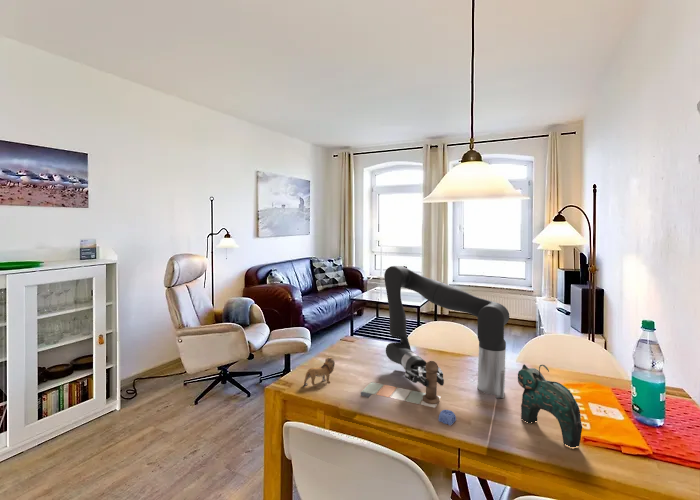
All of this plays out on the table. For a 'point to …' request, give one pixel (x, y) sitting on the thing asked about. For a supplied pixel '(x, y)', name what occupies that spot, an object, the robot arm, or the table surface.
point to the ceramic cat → (550, 403)
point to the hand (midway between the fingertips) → (435, 383)
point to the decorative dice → (447, 417)
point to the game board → (395, 393)
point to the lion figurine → (320, 371)
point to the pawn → (431, 383)
